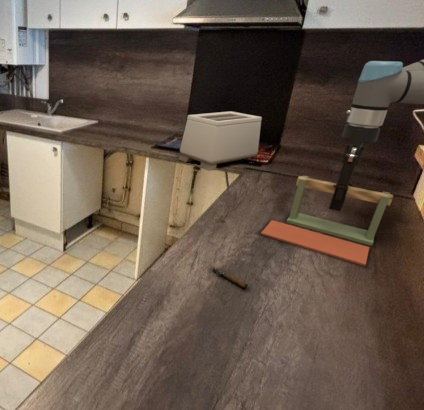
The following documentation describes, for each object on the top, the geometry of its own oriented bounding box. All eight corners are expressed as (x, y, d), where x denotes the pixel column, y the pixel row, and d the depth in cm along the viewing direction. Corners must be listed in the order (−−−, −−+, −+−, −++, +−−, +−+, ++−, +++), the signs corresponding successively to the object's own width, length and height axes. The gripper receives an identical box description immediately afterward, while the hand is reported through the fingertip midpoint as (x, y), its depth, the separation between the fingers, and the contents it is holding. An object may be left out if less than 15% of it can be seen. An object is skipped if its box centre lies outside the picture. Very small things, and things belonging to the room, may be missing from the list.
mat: (368, 249, 94) (369, 247, 94) (364, 266, 86) (365, 264, 86) (271, 221, 108) (271, 219, 108) (260, 234, 100) (261, 232, 100)
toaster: (260, 160, 168) (270, 116, 160) (209, 170, 153) (217, 122, 144) (227, 151, 184) (235, 110, 175) (177, 159, 168) (183, 114, 160)
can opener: (247, 288, 77) (248, 283, 77) (240, 291, 76) (241, 286, 76) (215, 267, 85) (216, 263, 84) (208, 269, 84) (209, 265, 83)
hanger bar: (390, 203, 95) (393, 194, 94) (389, 205, 93) (393, 197, 92) (297, 183, 107) (299, 175, 106) (295, 185, 106) (297, 177, 105)
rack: (374, 235, 101) (391, 191, 96) (371, 246, 96) (390, 199, 90) (292, 214, 114) (303, 173, 108) (286, 222, 108) (297, 180, 102)
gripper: (349, 119, 100) (324, 197, 110) (341, 127, 89) (315, 212, 99) (382, 123, 96) (354, 203, 105) (379, 131, 85) (347, 220, 94)
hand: (335, 207), depth 102 cm, fingers closed on hanger bar, 2 cm apart
